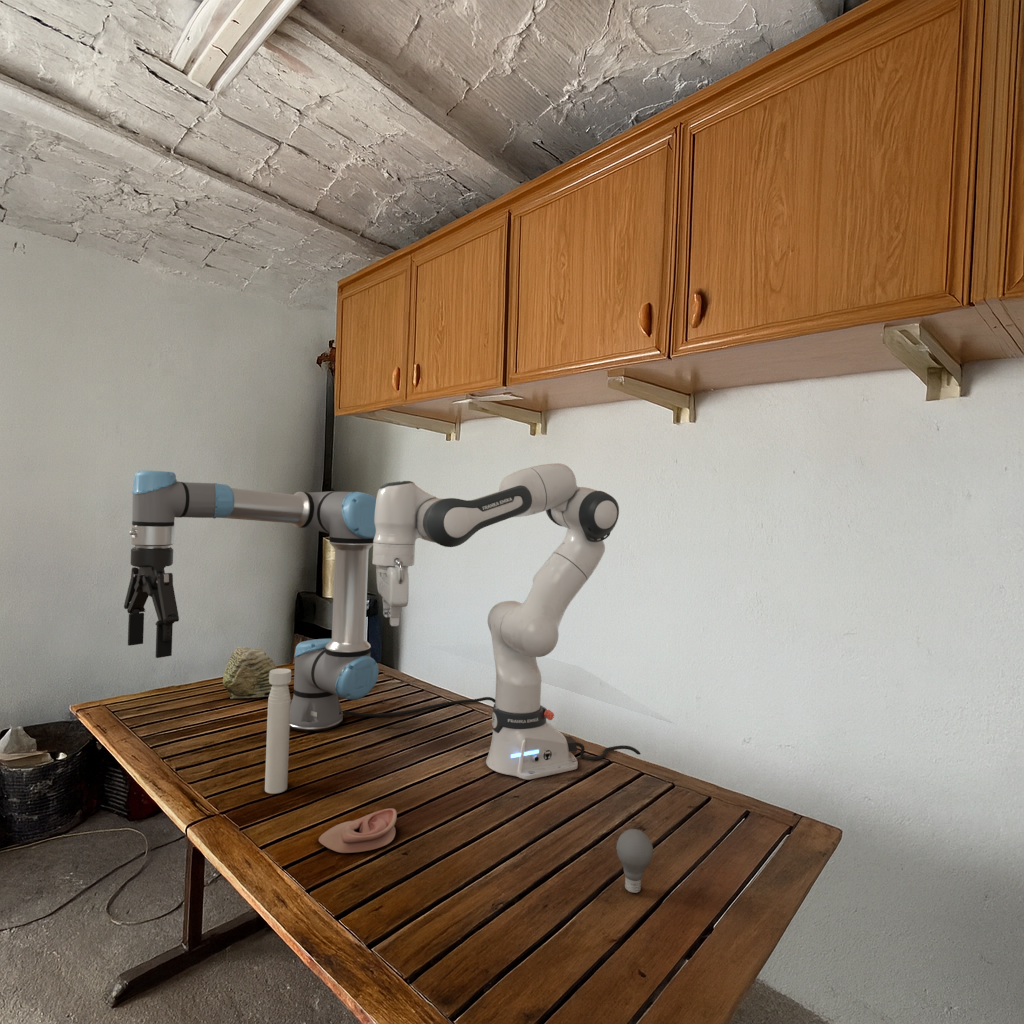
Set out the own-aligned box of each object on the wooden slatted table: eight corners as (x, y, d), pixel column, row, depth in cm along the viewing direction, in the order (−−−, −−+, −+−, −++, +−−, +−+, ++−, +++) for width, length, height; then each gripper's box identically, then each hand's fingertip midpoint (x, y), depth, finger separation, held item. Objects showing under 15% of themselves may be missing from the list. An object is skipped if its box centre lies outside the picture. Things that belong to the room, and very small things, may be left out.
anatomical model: (310, 826, 114) (340, 797, 125) (309, 848, 114) (339, 817, 125) (379, 837, 111) (403, 806, 122) (378, 859, 111) (403, 827, 123)
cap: (295, 680, 138) (295, 669, 138) (283, 686, 133) (283, 674, 133) (277, 678, 139) (277, 667, 139) (264, 683, 134) (264, 672, 134)
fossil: (218, 695, 195) (220, 647, 195) (278, 685, 208) (279, 640, 207) (228, 703, 189) (230, 653, 188) (289, 692, 201) (290, 645, 201)
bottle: (291, 785, 138) (295, 671, 138) (279, 795, 134) (283, 676, 133) (273, 782, 139) (277, 669, 139) (260, 791, 135) (264, 674, 134)
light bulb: (610, 879, 108) (613, 822, 108) (644, 879, 109) (647, 822, 109) (619, 902, 102) (622, 840, 102) (655, 901, 103) (658, 840, 103)
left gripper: (108, 542, 134) (105, 642, 134) (159, 552, 118) (155, 665, 118) (146, 541, 140) (143, 637, 140) (200, 551, 124) (196, 658, 124)
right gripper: (417, 561, 126) (414, 630, 127) (400, 552, 146) (398, 612, 146) (385, 561, 124) (382, 631, 125) (372, 551, 144) (370, 612, 144)
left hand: (149, 650), depth 129 cm, fingers open, 13 cm apart
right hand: (390, 621), depth 135 cm, fingers open, 8 cm apart
